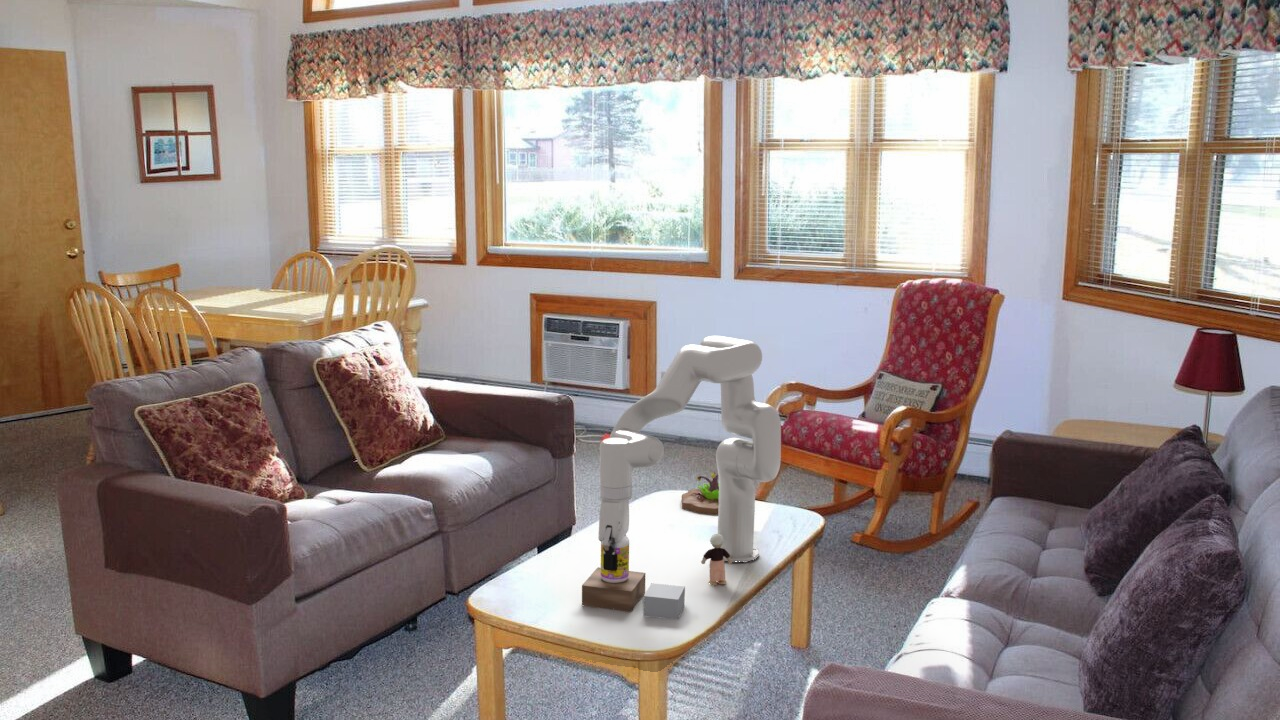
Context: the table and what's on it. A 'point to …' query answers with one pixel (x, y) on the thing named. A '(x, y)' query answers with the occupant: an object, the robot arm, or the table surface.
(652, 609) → the grey block
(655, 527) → the table surface
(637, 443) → the robot arm
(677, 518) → the table surface
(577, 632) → the table surface
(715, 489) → the plant
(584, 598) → the walnut block
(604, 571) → the supplement bottle
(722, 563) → the grandmother figurine
